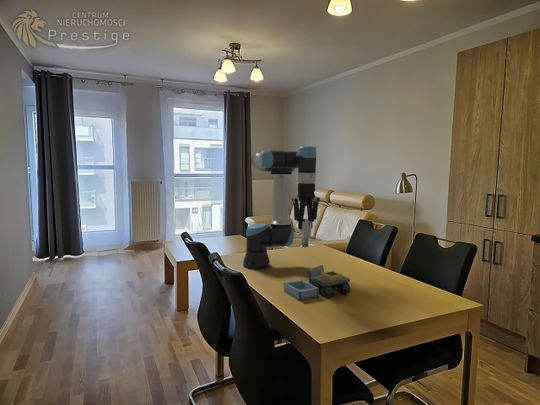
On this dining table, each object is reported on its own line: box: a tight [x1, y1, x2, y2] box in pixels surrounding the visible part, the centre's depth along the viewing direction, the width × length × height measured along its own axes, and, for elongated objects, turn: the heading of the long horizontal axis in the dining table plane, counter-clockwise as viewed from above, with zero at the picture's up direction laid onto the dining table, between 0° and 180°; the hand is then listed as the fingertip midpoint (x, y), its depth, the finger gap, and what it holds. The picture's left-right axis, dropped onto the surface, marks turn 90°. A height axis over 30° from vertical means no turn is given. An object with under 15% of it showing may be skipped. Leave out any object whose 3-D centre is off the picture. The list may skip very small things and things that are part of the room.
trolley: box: [311, 270, 351, 299], centre depth 163 cm, size 13×14×9 cm
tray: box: [283, 279, 320, 302], centre depth 161 cm, size 13×10×4 cm
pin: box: [301, 218, 310, 248], centre depth 158 cm, size 3×3×12 cm
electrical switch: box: [306, 264, 325, 284], centre depth 173 cm, size 9×5×9 cm, turn 138°
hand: (305, 236), depth 158 cm, fingers closed on pin, 3 cm apart
